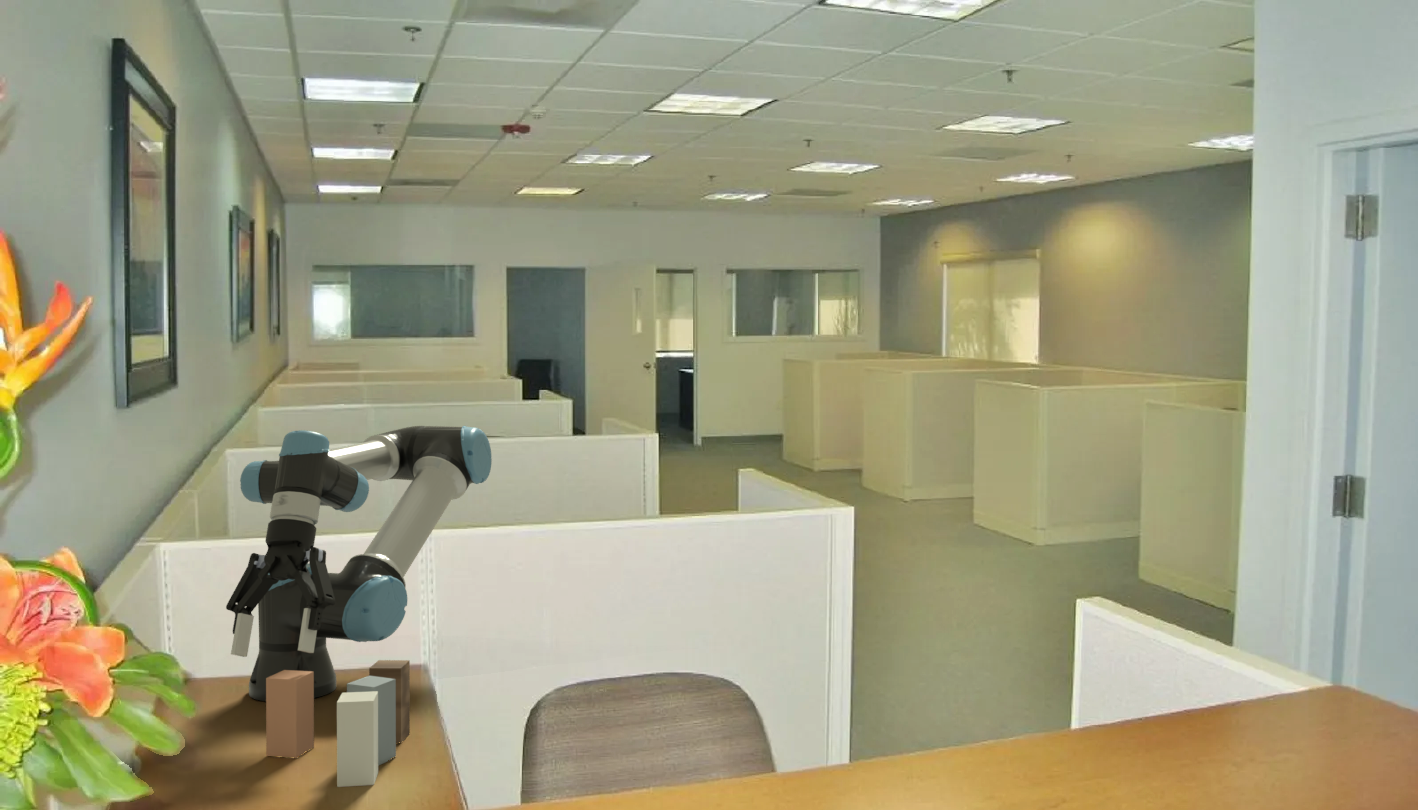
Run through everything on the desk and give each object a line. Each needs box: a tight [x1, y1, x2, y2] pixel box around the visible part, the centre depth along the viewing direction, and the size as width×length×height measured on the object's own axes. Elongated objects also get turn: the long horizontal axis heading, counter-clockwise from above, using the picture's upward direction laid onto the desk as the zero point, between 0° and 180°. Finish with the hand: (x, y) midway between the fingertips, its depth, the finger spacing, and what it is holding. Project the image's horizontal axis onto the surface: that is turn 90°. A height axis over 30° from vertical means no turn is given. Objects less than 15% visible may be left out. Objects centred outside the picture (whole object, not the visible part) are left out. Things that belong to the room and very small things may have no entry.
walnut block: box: [368, 659, 411, 744], centre depth 179 cm, size 5×5×12 cm
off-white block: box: [336, 691, 379, 788], centre depth 161 cm, size 5×5×12 cm
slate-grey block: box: [346, 675, 397, 767], centre depth 169 cm, size 5×5×12 cm
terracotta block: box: [265, 670, 315, 759], centre depth 173 cm, size 5×5×12 cm
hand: (271, 653), depth 177 cm, fingers open, 13 cm apart
